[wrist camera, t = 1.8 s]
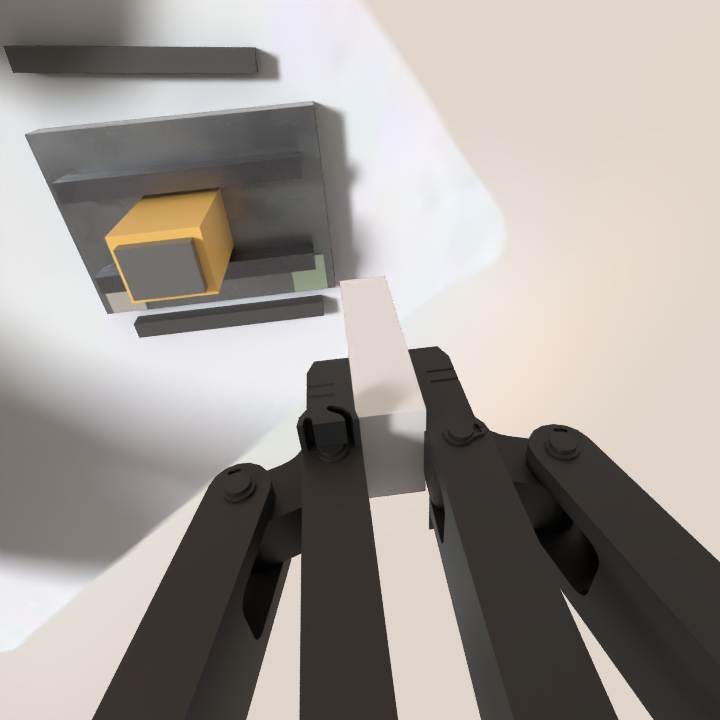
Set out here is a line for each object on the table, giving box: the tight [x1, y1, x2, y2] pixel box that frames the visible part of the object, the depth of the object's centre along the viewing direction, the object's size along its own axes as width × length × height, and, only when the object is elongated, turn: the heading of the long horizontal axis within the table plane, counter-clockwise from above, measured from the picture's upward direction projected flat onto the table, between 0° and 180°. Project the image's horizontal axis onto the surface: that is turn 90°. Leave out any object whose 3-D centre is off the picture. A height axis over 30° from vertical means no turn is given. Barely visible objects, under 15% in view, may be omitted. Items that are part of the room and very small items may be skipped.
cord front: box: [4, 46, 258, 73], centre depth 22 cm, size 11×1×1 cm, turn 90°
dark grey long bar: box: [134, 295, 324, 338], centre depth 30 cm, size 12×1×1 cm, turn 95°
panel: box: [25, 101, 336, 314], centre depth 25 cm, size 14×10×3 cm
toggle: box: [105, 188, 234, 304], centre depth 23 cm, size 4×3×7 cm
